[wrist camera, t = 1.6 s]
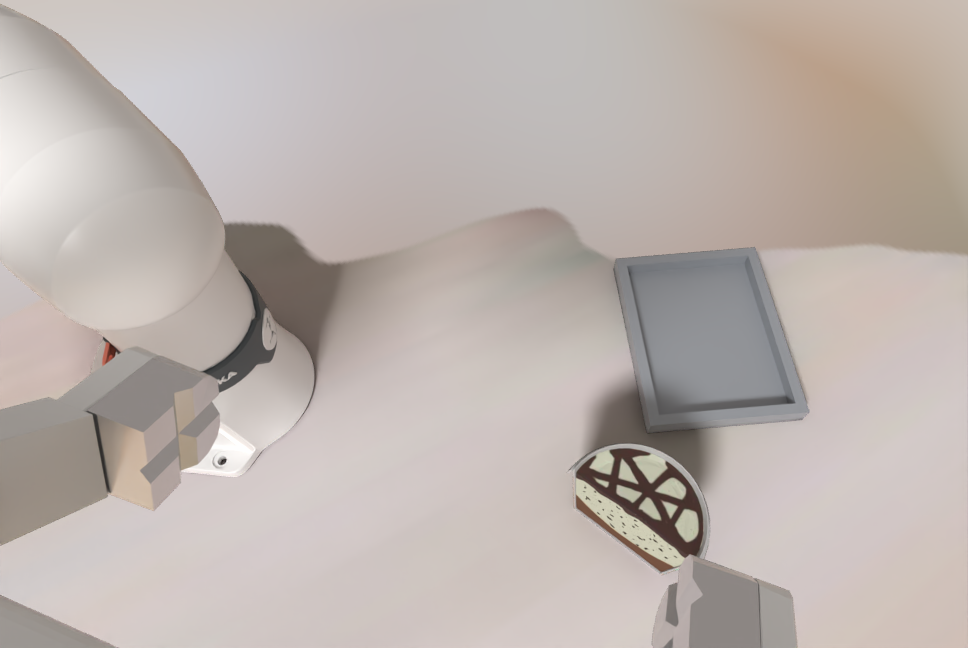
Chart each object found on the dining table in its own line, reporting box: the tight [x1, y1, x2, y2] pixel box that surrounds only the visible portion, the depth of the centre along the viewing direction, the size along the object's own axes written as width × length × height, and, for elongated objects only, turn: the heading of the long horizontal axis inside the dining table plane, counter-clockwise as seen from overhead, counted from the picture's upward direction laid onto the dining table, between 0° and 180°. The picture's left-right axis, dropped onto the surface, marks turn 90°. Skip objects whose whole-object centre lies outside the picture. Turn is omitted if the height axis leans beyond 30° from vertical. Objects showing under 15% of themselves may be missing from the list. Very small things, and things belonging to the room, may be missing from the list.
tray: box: [614, 247, 809, 433], centre depth 70 cm, size 15×19×2 cm
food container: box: [566, 443, 710, 575], centre depth 58 cm, size 12×6×10 cm, turn 51°
